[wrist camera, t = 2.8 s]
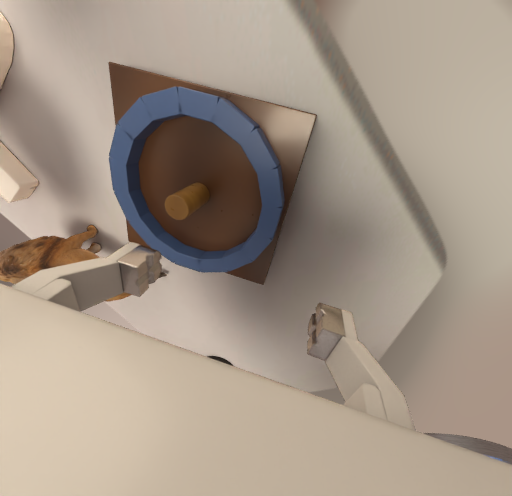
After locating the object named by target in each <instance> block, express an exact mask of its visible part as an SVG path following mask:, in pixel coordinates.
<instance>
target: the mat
mask: <svg viewBox="0 0 512 496" xmlns="http://www.w3.org/2000/svg"><path fill="white" fill-rule="evenodd" d="M209 358H212V359H214V360H217V361H220V362H223V363H226V364H228V365H231V366H233V365H232V364H231V363H229V362H228V361H226V360H225V359H222V358H220V357H215V356H209Z"/></svg>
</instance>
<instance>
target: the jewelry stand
mask: <svg viewBox="0 0 512 496" xmlns="http://www.w3.org/2000/svg"><path fill="white" fill-rule="evenodd" d="M13 50H14V42H13V33H12V31H11V28H10V25H9V23H8V21H7V20H6V19H5V17H4V16H3V15H2V14H1V12H0V89H1V87H2V84H3V82H4V79H5V77H6V75H7V72H8V70H9V68H10V65H11V63H12V58H13ZM38 184H39V183H38V180H37V179H36V178H35V177H34V176H33V175H32V174H31V173H30V172H29V171H28V170H27V169H26V168H25V167H24V166H23V164H22V163H21V162H20V161H19V160H18V159H17V158H16V157H15V156H14V155H13V154H12V153H11V152H10V151H9V150H8V149H7V148H6V147H5V146H4V145H3V144H2V143H1V142H0V195H1V196H2V197H3V198H4V199H5V200H6V201H7V202H8V203H11V202H15V201H18V200H22V199H26V198H29V196H30V195H31V194H32V192H33V191H34V190H35V187H36V186H38Z"/></svg>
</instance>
